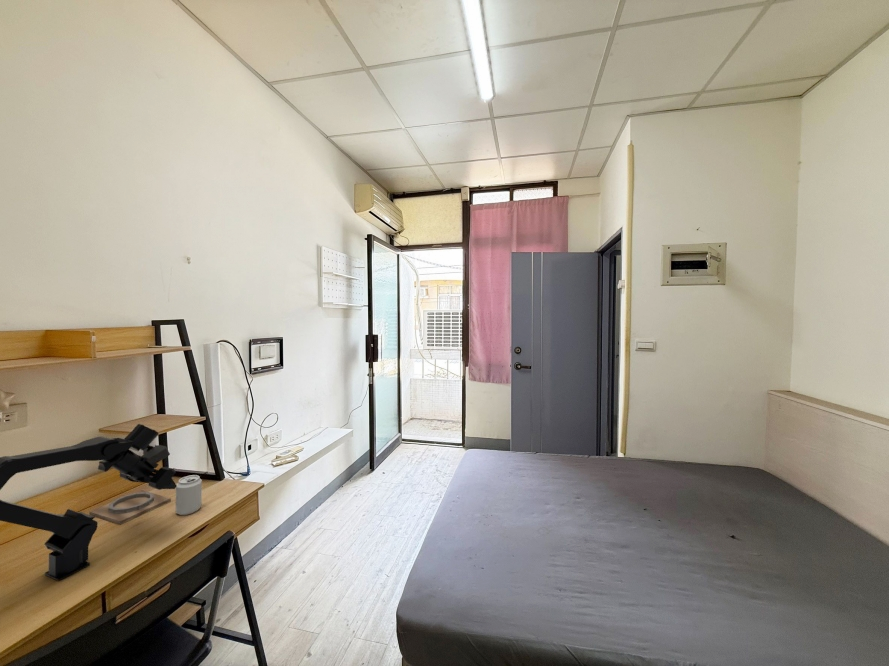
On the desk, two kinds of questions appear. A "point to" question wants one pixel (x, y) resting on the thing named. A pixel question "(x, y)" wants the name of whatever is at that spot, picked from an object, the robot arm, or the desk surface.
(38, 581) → the desk surface
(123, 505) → the collar board
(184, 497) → the can
